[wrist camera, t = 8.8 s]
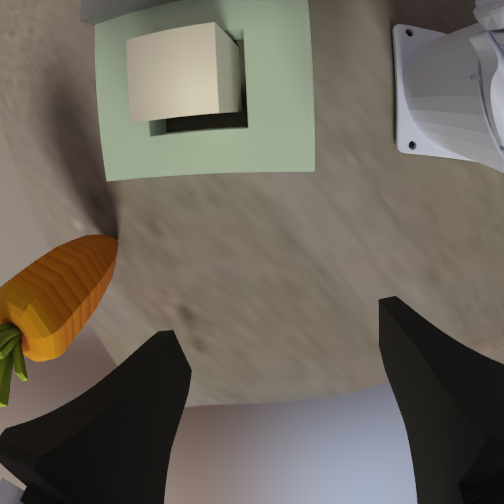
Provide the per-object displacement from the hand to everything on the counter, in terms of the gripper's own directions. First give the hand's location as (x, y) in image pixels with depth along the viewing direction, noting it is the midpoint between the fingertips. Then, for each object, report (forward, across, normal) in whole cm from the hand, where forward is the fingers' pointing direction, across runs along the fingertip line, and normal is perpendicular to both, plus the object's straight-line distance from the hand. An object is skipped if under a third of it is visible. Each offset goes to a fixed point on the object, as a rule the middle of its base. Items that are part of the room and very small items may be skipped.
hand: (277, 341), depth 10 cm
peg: (+10, +2, -10) cm, 15 cm away
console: (+10, +1, -15) cm, 18 cm away
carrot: (+11, +12, -2) cm, 16 cm away
